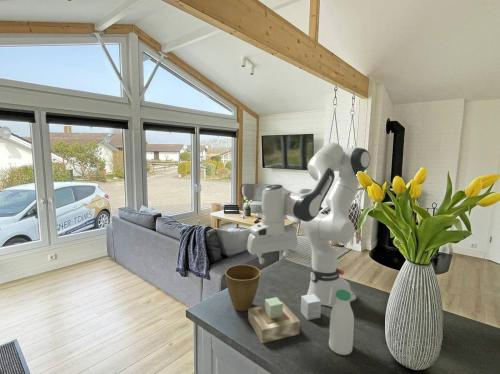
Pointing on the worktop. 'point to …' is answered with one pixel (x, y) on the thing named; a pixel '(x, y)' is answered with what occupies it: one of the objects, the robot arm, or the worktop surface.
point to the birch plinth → (273, 324)
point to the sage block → (273, 307)
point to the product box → (310, 306)
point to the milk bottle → (341, 324)
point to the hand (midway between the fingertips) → (272, 261)
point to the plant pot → (242, 285)
